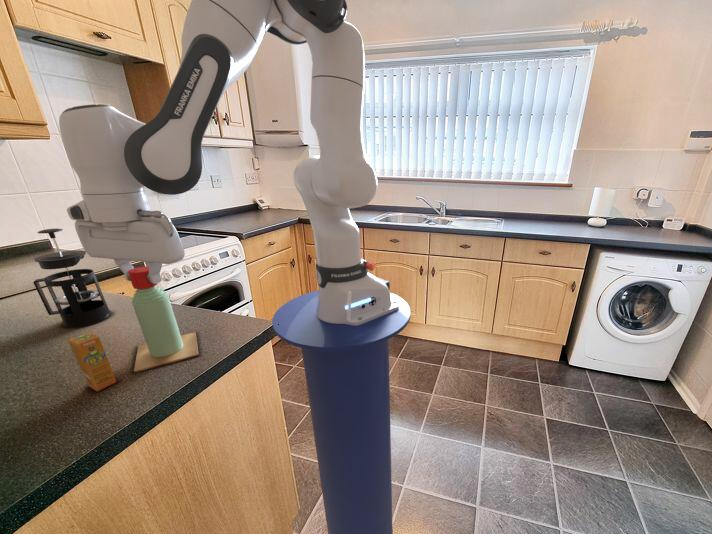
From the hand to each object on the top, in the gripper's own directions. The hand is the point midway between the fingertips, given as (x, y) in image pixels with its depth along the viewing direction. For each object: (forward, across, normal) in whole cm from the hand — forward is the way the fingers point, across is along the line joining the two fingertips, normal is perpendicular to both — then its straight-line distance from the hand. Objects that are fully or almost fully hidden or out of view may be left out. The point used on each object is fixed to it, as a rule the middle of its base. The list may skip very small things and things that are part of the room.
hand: (144, 281), depth 66 cm
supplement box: (+16, +2, +12) cm, 20 cm away
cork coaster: (+16, 0, 0) cm, 16 cm away
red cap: (+1, 0, 0) cm, 1 cm away
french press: (+16, +33, -7) cm, 38 cm away
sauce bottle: (+16, 0, 0) cm, 16 cm away
